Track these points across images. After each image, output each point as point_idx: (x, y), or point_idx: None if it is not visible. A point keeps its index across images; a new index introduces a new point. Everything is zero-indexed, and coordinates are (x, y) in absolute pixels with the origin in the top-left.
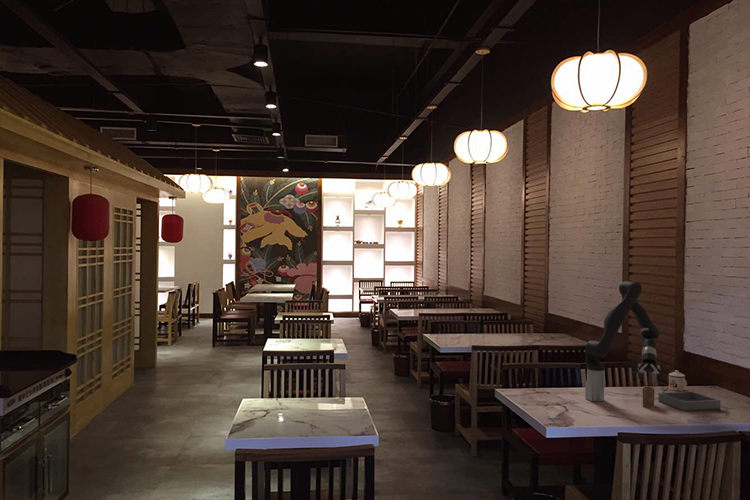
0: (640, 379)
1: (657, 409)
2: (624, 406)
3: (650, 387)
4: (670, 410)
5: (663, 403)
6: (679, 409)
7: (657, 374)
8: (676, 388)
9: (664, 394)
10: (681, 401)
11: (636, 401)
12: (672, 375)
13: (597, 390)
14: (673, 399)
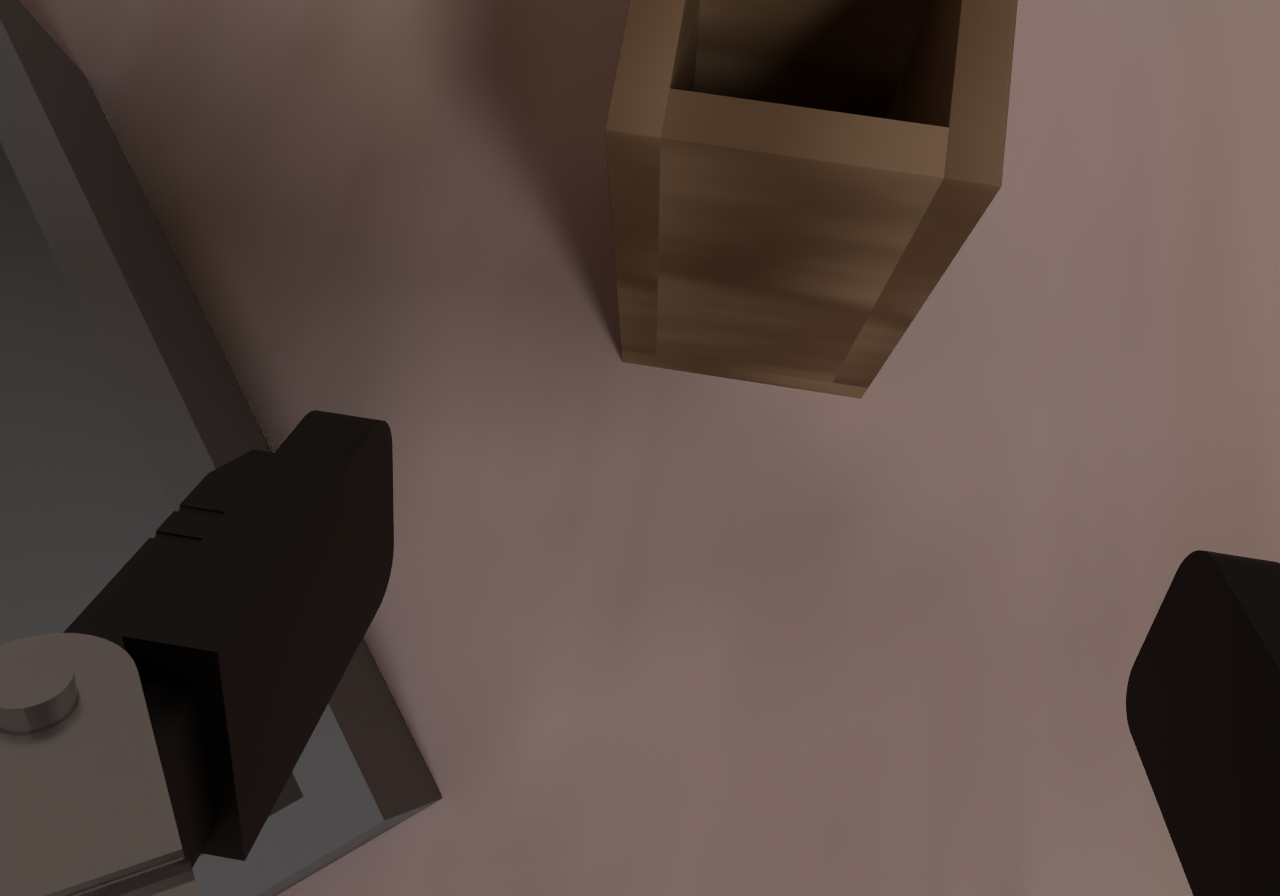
0: (1167, 651)
1: (608, 70)
2: (1255, 82)
3: (742, 103)
4: (359, 80)
5: None
6: (145, 202)
7: (173, 616)
8: None
9: None
10: (14, 37)
11: (988, 637)
12: None
13: None
14: (134, 275)
